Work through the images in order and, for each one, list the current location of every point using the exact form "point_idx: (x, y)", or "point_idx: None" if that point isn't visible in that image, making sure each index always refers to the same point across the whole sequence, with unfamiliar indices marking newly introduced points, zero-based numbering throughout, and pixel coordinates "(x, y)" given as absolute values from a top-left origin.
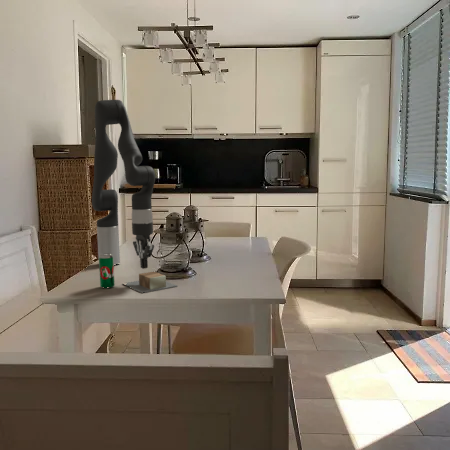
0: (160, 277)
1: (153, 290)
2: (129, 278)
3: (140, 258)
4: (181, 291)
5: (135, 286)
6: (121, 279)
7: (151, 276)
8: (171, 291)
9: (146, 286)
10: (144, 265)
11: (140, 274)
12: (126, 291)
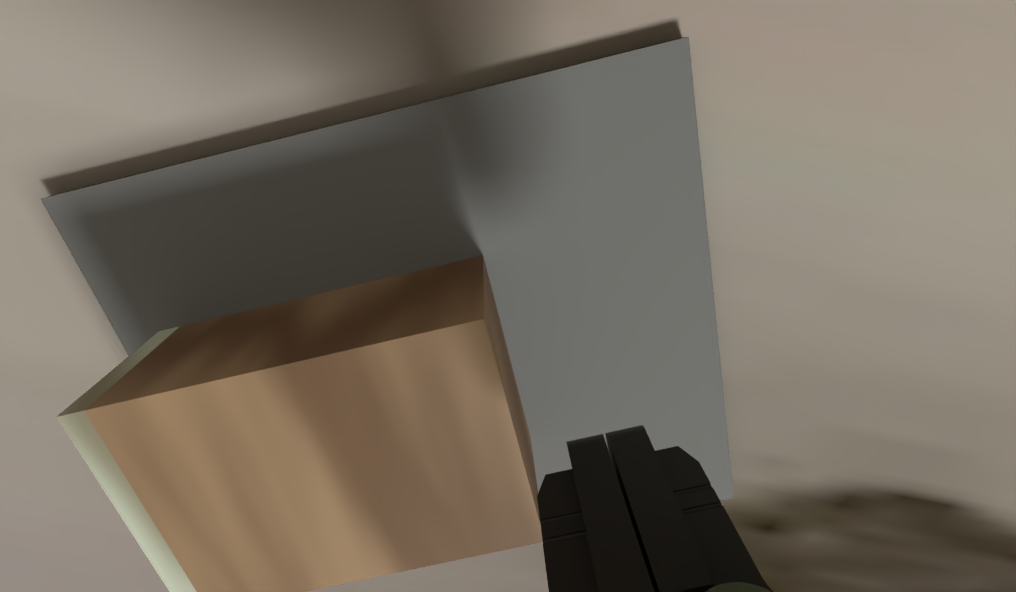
0: (151, 545)
1: (131, 351)
2: (970, 216)
3: (692, 586)
4: (55, 578)
5: (401, 186)
6: (1000, 96)
7: (197, 455)
8: (77, 504)
9: (269, 311)
10: (542, 512)
11: (425, 334)
12: (227, 7)
